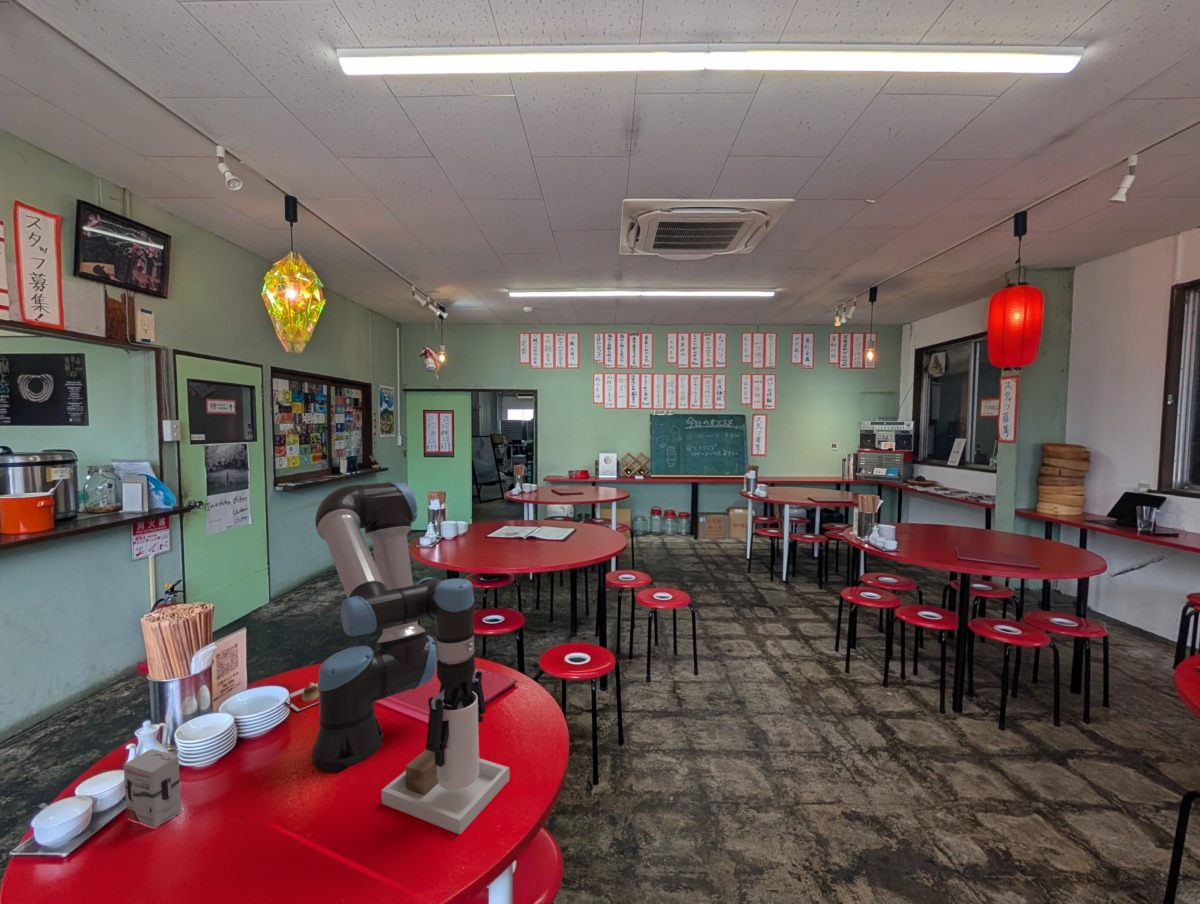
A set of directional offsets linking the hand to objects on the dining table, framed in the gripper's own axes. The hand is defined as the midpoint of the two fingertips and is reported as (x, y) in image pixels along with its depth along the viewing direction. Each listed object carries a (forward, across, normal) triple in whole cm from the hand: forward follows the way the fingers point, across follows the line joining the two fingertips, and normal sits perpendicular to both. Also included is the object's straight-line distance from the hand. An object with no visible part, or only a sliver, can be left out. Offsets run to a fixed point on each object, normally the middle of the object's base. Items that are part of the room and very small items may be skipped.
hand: (458, 764), depth 102 cm
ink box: (+7, -28, +53) cm, 60 cm away
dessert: (+8, +15, +67) cm, 69 cm away
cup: (+2, 0, 0) cm, 2 cm away
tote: (+7, 0, +3) cm, 8 cm away
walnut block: (+6, 0, +9) cm, 11 cm away
